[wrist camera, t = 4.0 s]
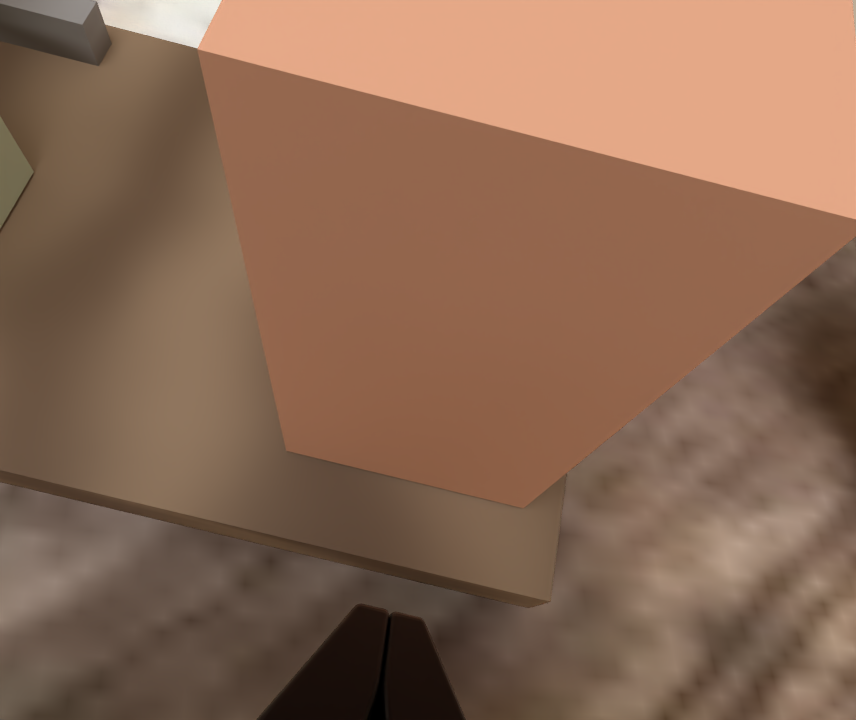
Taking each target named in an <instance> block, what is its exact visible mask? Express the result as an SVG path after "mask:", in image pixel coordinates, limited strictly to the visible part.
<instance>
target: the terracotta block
mask: <svg viewBox="0 0 856 720" xmlns="http://www.w3.org/2000/svg"><path fill="white" fill-rule="evenodd" d="M197 50H198V55H199V59H200V64H201V69H202V73H203V78H204V82H205V87H206V91H207V96H208V100H209V105H210V109H211V114H212V118H213V123H214V127H215V132H216V136H217V141H218V145H219V150H220V154H221V159H222V163H223V168H224V172H225V177H226V181H227V186H228V190H229V195H230V200H231V204H232V209H233V213H234V218H235V222H236V227H237V231H238V236H239V240H240V245H241V249H242V254H243V258H244V263H245V267H246V272H247V276H248V281H249V285H250V290H251V294H252V299H253V303H254V308H255V312H256V317H257V321H258V326H259V330H260V335H261V340H262V344H263V349H264V353H265V358H266V362H267V367H268V371H269V376H270V380H271V385H272V389H273V394H274V398H275V403H276V407H277V412H278V416H279V421H280V425H281V430H282V434H283V439H284V443H285V448H286V451H289V452H293V453H297V454H301V455H305V456H309V457H314V458H318V459H322V460H326V461H330V462H334V463H338V464H342V465H347V466H351V467H355V468H359V469H363V470H367V471H371V472H375V473H379V474H384V475H388V476H392V477H396V478H400V479H404V480H408V481H412V482H417V483H421V484H425V485H429V486H433V487H437V488H441V489H445V490H449V491H454V492H458V493H462V494H466V495H470V496H474V497H478V498H482V499H487V500H491V501H495V502H499V503H503V504H507V505H511V506H515V507H519V508H524V507H526V506H527V505H528V504H529V503H531V502H532V501H533V500H534V499H535V498H537V497H538V496H539V495H540V494H542V493H543V492H544V491H545V490H546V489H548V488H549V487H550V486H551V485H553V484H554V483H555V482H556V481H557V480H559V479H560V478H561V477H562V476H564V475H565V474H566V473H567V472H568V471H570V470H571V469H572V468H573V467H575V466H576V465H577V464H578V463H579V462H581V461H582V460H583V459H584V458H586V457H587V456H588V455H589V454H590V453H592V452H593V451H594V450H595V449H597V448H598V447H599V446H600V445H601V444H603V443H604V442H605V441H606V440H608V439H609V438H610V437H611V436H612V435H614V434H615V433H616V432H617V431H619V430H620V429H621V428H622V427H623V426H625V425H626V424H627V423H628V422H630V421H631V420H632V419H633V418H634V417H636V416H637V415H638V414H639V413H641V412H642V411H643V410H644V409H645V408H647V407H648V406H649V405H650V404H652V403H653V402H654V401H655V400H656V399H658V398H659V397H660V396H661V395H663V394H664V393H665V392H666V391H667V390H669V389H670V388H671V387H672V386H674V385H675V384H676V383H677V382H678V381H680V380H681V379H682V378H683V377H685V376H686V375H687V374H688V373H689V372H691V371H692V370H693V369H694V368H696V367H697V366H698V365H699V364H700V363H702V362H703V361H704V360H705V359H707V358H708V357H709V356H710V355H711V354H713V353H714V352H715V351H716V350H717V349H719V348H720V347H721V346H722V345H724V344H725V343H726V342H727V341H728V340H730V339H731V338H732V337H733V336H735V335H736V334H737V333H738V332H739V331H741V330H742V329H743V328H744V327H746V326H747V325H748V324H749V323H750V322H752V321H753V320H754V319H755V318H757V317H758V316H759V315H760V314H761V313H763V312H764V311H765V310H766V309H768V308H769V307H770V306H771V305H772V304H774V303H775V302H776V301H777V300H779V299H780V298H781V297H782V296H783V295H785V294H786V293H787V292H788V291H790V290H791V289H792V288H793V287H794V286H796V285H797V284H798V283H799V282H801V281H802V280H803V279H804V278H805V277H807V276H808V275H809V274H810V273H812V272H813V271H814V270H815V269H816V268H818V267H819V266H820V265H821V264H823V263H824V262H825V261H826V260H827V259H829V258H830V257H831V256H832V255H834V254H835V253H836V252H837V251H838V250H840V249H841V248H842V247H843V246H845V245H846V244H847V243H848V242H849V241H851V240H852V239H853V238H854V237H856V38H855V26H854V15H853V3H852V0H222V1H221V3H220V5H219V7H218V9H217V11H216V13H215V15H214V17H213V19H212V21H211V23H210V25H209V27H208V29H207V31H206V33H205V35H204V37H203V39H202V41H201V43H200V45H199V47H198V49H197Z"/></svg>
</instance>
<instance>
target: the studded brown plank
mask: <svg viewBox="0 0 856 720" xmlns="http://www.w3.org/2000/svg"><path fill="white" fill-rule="evenodd" d="M0 117H1V118H2V120H3V122H4V123H5V125H6V127H7V128H8V130H9V131H10V133H11V135H12V136H13V138H14V140H15V141H16V143H17V145H18V146H19V148H20V150H21V151H22V153H23V155H24V156H25V158H26V159H27V161H28V163H29V164H30V166H31V168H32V169H33V171H34V172H33V174H32V176H31V177H30V179H29V181H28V183H27V184H26V186H25V188H24V189H23V191H22V193H21V194H20V196H19V198H18V199H17V201H16V203H15V205H14V206H13V208H12V210H11V211H10V213H9V215H8V216H7V218H6V220H5V221H4V223H3V225H2V227H1V228H0V482H3V483H7V484H11V485H15V486H19V487H24V488H28V489H32V490H36V491H40V492H45V493H49V494H53V495H57V496H61V497H66V498H70V499H74V500H78V501H82V502H87V503H91V504H95V505H99V506H103V507H107V508H112V509H116V510H120V511H124V512H128V513H133V514H137V515H141V516H145V517H149V518H154V519H158V520H162V521H166V522H170V523H174V524H179V525H183V526H187V527H191V528H195V529H200V530H204V531H208V532H212V533H216V534H221V535H225V536H229V537H233V538H237V539H242V540H246V541H250V542H254V543H258V544H262V545H267V546H271V547H275V548H279V549H283V550H288V551H292V552H296V553H300V554H304V555H309V556H313V557H317V558H321V559H325V560H329V561H334V562H338V563H342V564H346V565H350V566H355V567H359V568H363V569H367V570H371V571H376V572H380V573H384V574H388V575H392V576H397V577H401V578H405V579H409V580H413V581H417V582H422V583H426V584H430V585H434V586H438V587H443V588H447V589H451V590H455V591H459V592H464V593H468V594H472V595H476V596H480V597H484V598H489V599H493V600H497V601H501V602H505V603H510V604H514V605H518V606H522V607H526V608H530V607H534V606H537V605H541V604H544V603H548V602H551V594H552V586H553V578H554V570H555V562H556V555H557V547H558V539H559V531H560V523H561V515H562V507H563V499H564V491H565V483H566V476H567V473H566V474H565V475H564V476H562V477H561V478H560V479H559V480H557V481H556V482H555V483H554V484H553V485H551V486H550V487H549V488H548V489H546V490H545V491H544V492H543V493H542V494H540V495H539V496H538V497H537V498H535V499H534V500H533V501H532V502H531V503H529V504H528V505H527V506H526V507H524V508H519V507H515V506H511V505H507V504H503V503H499V502H495V501H491V500H487V499H482V498H478V497H474V496H470V495H466V494H462V493H458V492H454V491H449V490H445V489H441V488H437V487H433V486H429V485H425V484H421V483H417V482H412V481H408V480H404V479H400V478H396V477H392V476H388V475H384V474H379V473H375V472H371V471H367V470H363V469H359V468H355V467H351V466H347V465H342V464H338V463H334V462H330V461H326V460H322V459H318V458H314V457H309V456H305V455H301V454H297V453H293V452H289V451H286V448H285V443H284V439H283V434H282V430H281V425H280V421H279V416H278V412H277V407H276V403H275V398H274V394H273V389H272V385H271V380H270V376H269V371H268V367H267V362H266V358H265V353H264V349H263V344H262V340H261V335H260V330H259V326H258V321H257V317H256V312H255V308H254V303H253V299H252V294H251V290H250V285H249V281H248V276H247V272H246V267H245V263H244V258H243V254H242V249H241V245H240V240H239V236H238V231H237V227H236V222H235V218H234V213H233V209H232V204H231V200H230V195H229V190H228V186H227V181H226V177H225V172H224V168H223V163H222V159H221V154H220V150H219V145H218V141H217V136H216V132H215V127H214V123H213V118H212V114H211V109H210V105H209V100H208V96H207V91H206V87H205V82H204V78H203V73H202V69H201V64H200V59H199V55H198V50H197V48H193V47H189V46H185V45H182V44H178V43H174V42H170V41H166V40H162V39H158V38H154V37H151V36H147V35H143V34H139V33H135V32H131V31H127V30H124V29H120V28H116V27H112V26H108V25H105V23H104V21H103V18H102V15H101V12H100V9H99V7H98V4H97V2H96V1H92V0H0Z"/></svg>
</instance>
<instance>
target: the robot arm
mask: <svg viewBox="0 0 856 720" xmlns="http://www.w3.org/2000/svg"><path fill="white" fill-rule="evenodd" d="M257 720H466V719H465V717H464V714H463V712H462V709H461V707H460V705H459V702H458V700H457V698H456V695H455V693H454V690H453V688H452V686H451V683H450V681H449V679H448V676H447V674H446V671H445V669H444V667H443V664H442V662H441V660H440V657H439V655H438V652H437V650H436V648H435V645H434V643H433V641H432V638H431V636H430V633H429V631H428V629H427V626H426V624H425V622H424V621H423V620H422V619H421V618H419V617H416V616H411V615H407V614H403V613H399V612H393V613H392V614H391V615H390V616H389V613H388V611H387V610H385V609H382V608H378V607H373V606H369V605H365V604H358V605H356V606H355V607H354V608H353V609H352V610H351V612H350V613H349V614H348V615H347V616H346V617H345V618H344V620H343V621H342V622H341V623H340V624H339V625H338V627H337V628H336V629H335V630H334V631H333V632H332V633H331V635H330V636H329V637H328V638H327V639H326V640H325V641H324V643H323V644H322V645H321V646H320V647H319V648H318V650H317V651H316V652H315V653H314V654H313V655H312V656H311V658H310V659H309V660H308V661H307V662H306V663H305V664H304V666H303V667H302V668H301V669H300V670H299V671H298V672H297V674H296V675H295V676H294V677H293V678H292V679H291V681H290V682H289V683H288V684H287V685H286V686H285V687H284V689H283V690H282V691H281V692H280V693H279V694H278V695H277V697H276V698H275V699H274V700H273V701H272V702H271V704H270V705H269V706H268V707H267V708H266V709H265V710H264V712H263V713H262V714H261V715H260V716H259V717H258V718H257Z"/></svg>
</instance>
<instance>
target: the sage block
mask: <svg viewBox="0 0 856 720" xmlns="http://www.w3.org/2000/svg"><path fill="white" fill-rule="evenodd" d="M33 172H34V171H33V169H32V168H31V166H30V164H29V163H28V161H27V159H26V158H25V156H24V155H23V153H22V151H21V150H20V148H19V146H18V145H17V143H16V141H15V140H14V138H13V136H12V135H11V133H10V131H9V130H8V128H7V127H6V125H5V123H4V122H3V120H2V118H1V117H0V228H1V227H2V225H3V223H4V221H5V220H6V218H7V216H8V215H9V213H10V211H11V210H12V208H13V206H14V205H15V203H16V201H17V199H18V198H19V196H20V194H21V193H22V191H23V189H24V188H25V186H26V184H27V183H28V181H29V179H30V177H31V176H32V174H33Z"/></svg>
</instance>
